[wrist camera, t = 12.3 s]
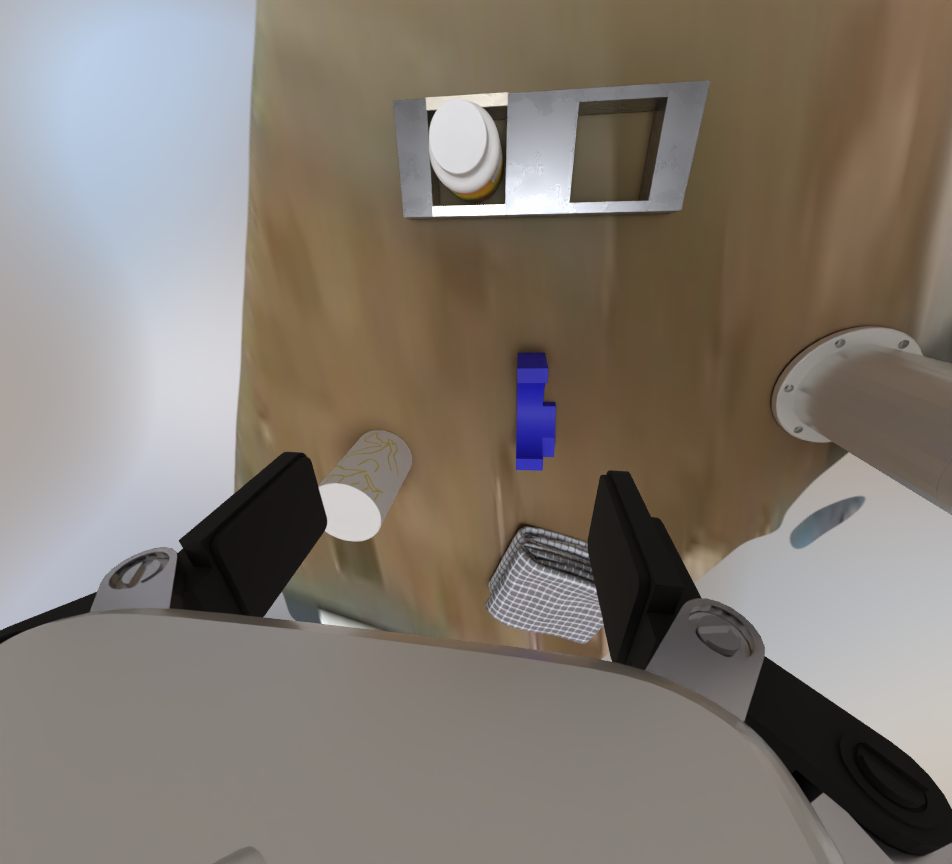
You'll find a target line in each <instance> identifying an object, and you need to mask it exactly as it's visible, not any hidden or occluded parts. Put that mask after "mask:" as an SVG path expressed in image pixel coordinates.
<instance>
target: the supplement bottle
mask: <svg viewBox="0 0 952 864" xmlns="http://www.w3.org/2000/svg"><path fill="white" fill-rule="evenodd" d="M429 155H430V161H431V164H432V167H433V169H434V171H435V173H436V175H437V177H438V178H439V179H440V181H441V182H442V183H443V184H444V185H445V186H446V187H448V188H449V189H450V190H451V191H452V192H453V193H454V194H455V195H456V196H458V197H459V198H460V199H462V200H464V201H467V202H471V203H477V202H481V201H484V200H486V199H487V198H489V197H490V196H491V195H492V194H493V193H494V192H495V191H496V189H497V188H498V186H499V184H500V181H501V178H502V174H503V155H502V149H501V144H500V139H499V134H498V131H497V128H496V125H495V123H494V121H493V119H492V118H491V116H490V115H489V113H488V112H487V111H486V110H485V109H483V108H482V107H481V106H479V105H478V104H476V103H473V102H469V101H467V100H465V99H459V98H456V99H451V100H449V101H446V102H445V103H443V104H442V105H441V106H440V107H439V108H438V109H437V111H436V112H435V114H434V116H433V118H432V121H431V124H430V129H429Z"/></svg>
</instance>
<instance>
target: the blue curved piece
mask: <svg viewBox="0 0 952 864" xmlns="http://www.w3.org/2000/svg"><path fill="white" fill-rule="evenodd" d="M547 381H548V365H547V361H546V356H545V353H518V365H517V443H516V470H542V469H543V457H554V446H555V412H556V405H555V402H543V396H544V387H545V383H547Z"/></svg>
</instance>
